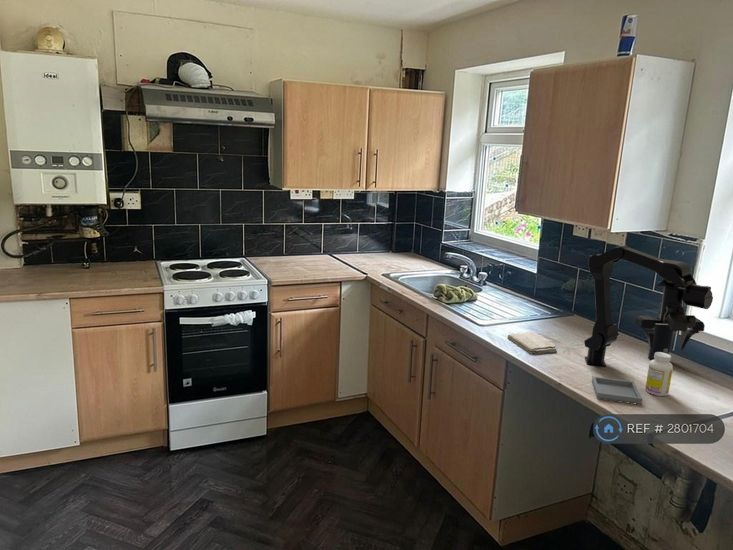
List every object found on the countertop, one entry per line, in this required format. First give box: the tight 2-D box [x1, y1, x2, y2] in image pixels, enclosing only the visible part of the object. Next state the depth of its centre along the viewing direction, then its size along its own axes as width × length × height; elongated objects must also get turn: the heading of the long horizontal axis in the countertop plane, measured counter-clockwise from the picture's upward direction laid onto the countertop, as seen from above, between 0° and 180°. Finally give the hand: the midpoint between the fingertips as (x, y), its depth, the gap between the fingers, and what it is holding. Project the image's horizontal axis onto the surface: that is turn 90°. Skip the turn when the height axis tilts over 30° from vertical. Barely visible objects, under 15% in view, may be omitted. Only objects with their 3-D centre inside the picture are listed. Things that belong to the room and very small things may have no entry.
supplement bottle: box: [645, 352, 674, 397], centre depth 173 cm, size 7×7×13 cm
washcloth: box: [506, 331, 558, 355], centre depth 211 cm, size 12×18×3 cm, turn 18°
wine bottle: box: [647, 308, 674, 361], centre depth 197 cm, size 6×6×30 cm
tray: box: [591, 375, 643, 405], centre depth 173 cm, size 13×13×2 cm
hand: (665, 348), depth 175 cm, fingers open, 9 cm apart
